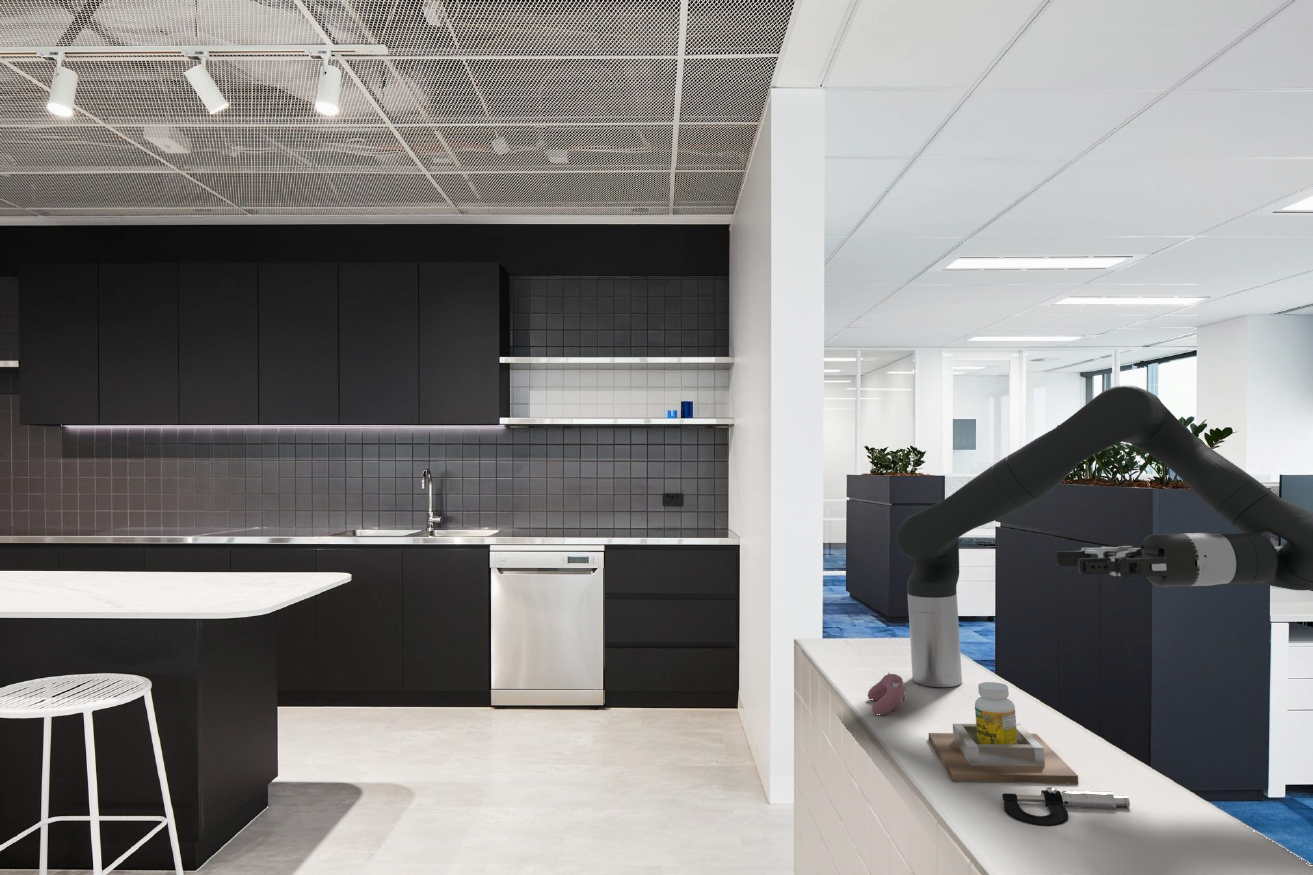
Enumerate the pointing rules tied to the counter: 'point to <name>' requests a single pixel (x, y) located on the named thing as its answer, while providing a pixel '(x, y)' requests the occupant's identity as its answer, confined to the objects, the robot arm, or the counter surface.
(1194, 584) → the robot arm
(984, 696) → the supplement bottle
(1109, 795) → the micrometer
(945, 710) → the counter surface
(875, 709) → the video game controller
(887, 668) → the counter surface
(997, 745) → the socket board
